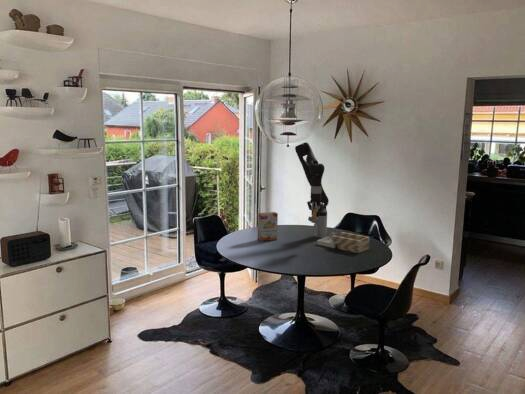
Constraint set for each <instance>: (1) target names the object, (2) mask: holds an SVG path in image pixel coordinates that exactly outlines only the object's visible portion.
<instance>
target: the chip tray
mask: <svg viewBox="0 0 525 394" xmlns="http://www.w3.org/2000/svg"><path fill="white" fill-rule="evenodd" d="M329 238H330V235H328V236H327V235H326V237H325V238H319V239H317V240H316V245H318V246H323V247H327V248H332V249H336V248H337V243H338V242H336V243H335V244H333V243H329Z"/></svg>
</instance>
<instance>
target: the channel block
mask: <svg viewBox="0 0 525 394" xmlns="http://www.w3.org/2000/svg"><path fill="white" fill-rule="evenodd" d="M370 237H371V236H367V235H366V236H365V235H361V234H356V233H351V232H345V231H340V235H337V236H335V235H332V239H331V241H336V242H338V243H337V247H336V248H337V250H340V251H341V250H343V251H348V252H350V253H351V252H352V253H356V254H360V253H362V252H365V251H367V250H369V249H370Z"/></svg>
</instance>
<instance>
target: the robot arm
mask: <svg viewBox="0 0 525 394" xmlns="http://www.w3.org/2000/svg"><path fill="white" fill-rule="evenodd" d="M294 151H295V153H296V156H297V157H298V160H299V161H300V164H301V166H302V169H303V172H304V175H305V177H306V180H307V182H308V183H309V186H310V200H309V201H306V203H307V207H308V210H310V211H311V216H312V213H313V210H314V207H316V210H317V212H316V217H317V220H319V222H318V224H315V223H313V237H314V238H319V239H322V238H325V237H327V230H328V229H327V228H328V210H327V207H328V205H329V203H330V202H329V200H330V199H329V198H328V196H327V194H326V192H325V190H324V187H323V184H322V179H323V177H324V176H323V175H324V173H325V165H324V164H323V163H319V162H318V160H317V158H316V156H315V154H314V152H313V150H312V147H311V145H310V143H308V142H306V141H305V142H302V143H300V144H299V145H296V146H294ZM305 156H306V157H305ZM304 157H305V159H304Z"/></svg>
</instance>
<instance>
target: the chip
mask: <svg viewBox="0 0 525 394" xmlns="http://www.w3.org/2000/svg"><path fill="white" fill-rule="evenodd" d="M332 235H335V236H338V232H333V231H332V232H330V233H329V236H330V239H332Z"/></svg>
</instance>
